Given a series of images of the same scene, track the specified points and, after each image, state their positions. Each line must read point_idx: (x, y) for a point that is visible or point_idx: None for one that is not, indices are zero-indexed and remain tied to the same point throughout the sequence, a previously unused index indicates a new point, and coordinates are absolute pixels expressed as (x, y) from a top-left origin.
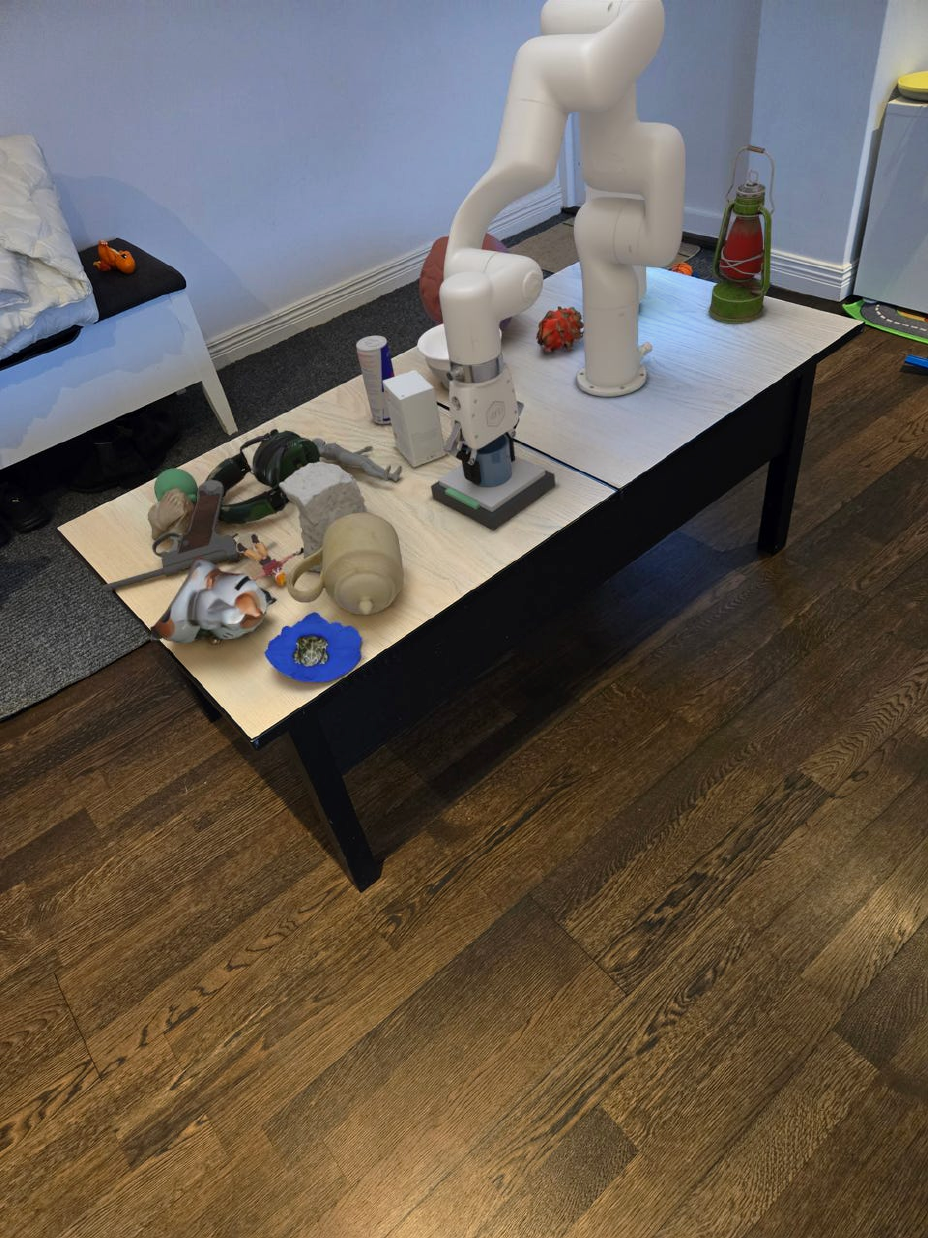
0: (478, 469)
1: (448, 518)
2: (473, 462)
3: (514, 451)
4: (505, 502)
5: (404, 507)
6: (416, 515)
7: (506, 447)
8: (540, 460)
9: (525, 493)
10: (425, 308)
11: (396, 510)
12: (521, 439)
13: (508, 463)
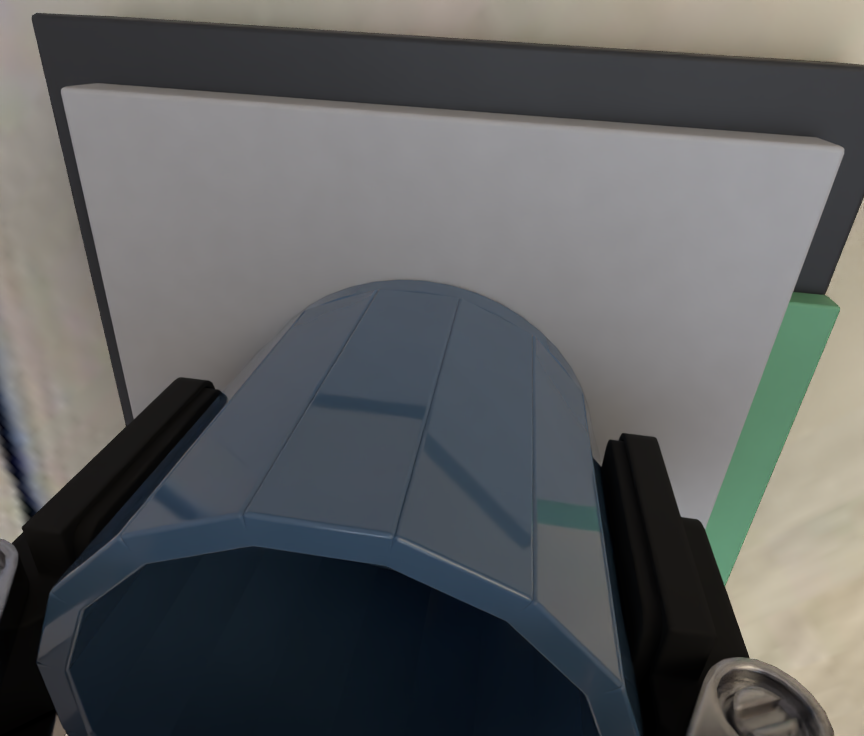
0: (665, 547)
1: (807, 438)
2: (732, 673)
3: (129, 424)
4: (627, 122)
5: (794, 664)
6: (843, 591)
7: (221, 500)
8: (24, 311)
9: (408, 48)
10: None
11: (835, 681)
12: (3, 500)
13: (313, 356)
